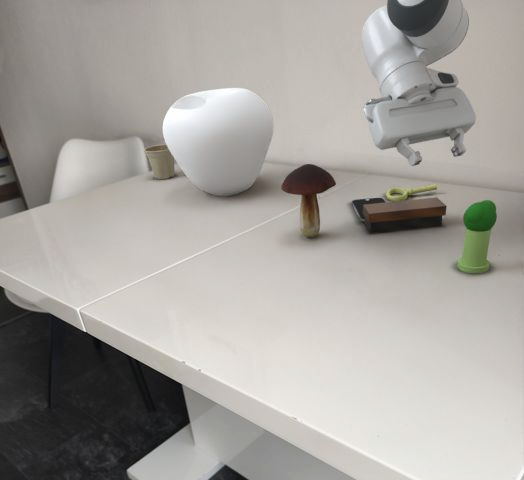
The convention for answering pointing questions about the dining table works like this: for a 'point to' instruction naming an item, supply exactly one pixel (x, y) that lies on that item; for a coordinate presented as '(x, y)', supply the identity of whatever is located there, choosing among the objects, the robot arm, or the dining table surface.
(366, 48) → the robot arm
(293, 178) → the decorative mushroom
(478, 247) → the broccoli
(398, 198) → the key
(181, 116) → the vase
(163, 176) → the flower pot
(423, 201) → the brush
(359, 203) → the smartphone
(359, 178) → the dining table surface
